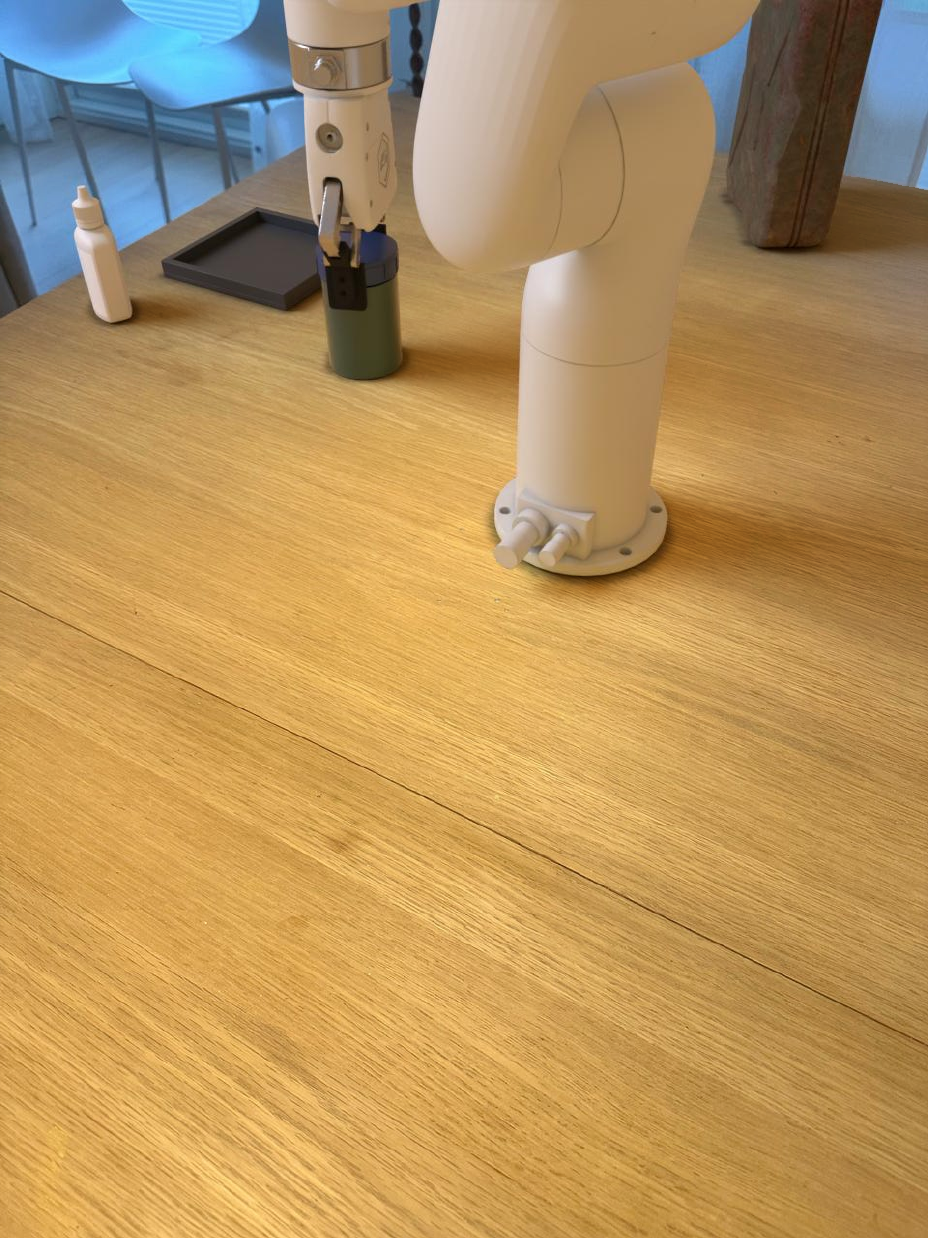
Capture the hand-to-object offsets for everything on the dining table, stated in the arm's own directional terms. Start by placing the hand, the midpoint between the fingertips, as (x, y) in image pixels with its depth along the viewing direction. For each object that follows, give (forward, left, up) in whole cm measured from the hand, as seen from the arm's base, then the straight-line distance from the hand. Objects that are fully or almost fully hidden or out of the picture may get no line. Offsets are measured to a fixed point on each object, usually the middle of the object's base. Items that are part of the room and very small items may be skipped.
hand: (359, 286), depth 90 cm
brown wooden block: (+48, -22, -7) cm, 53 cm away
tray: (+12, +20, -7) cm, 24 cm away
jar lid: (0, 0, +3) cm, 3 cm away
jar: (0, 0, -7) cm, 7 cm away
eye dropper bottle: (-4, +27, -7) cm, 28 cm away
